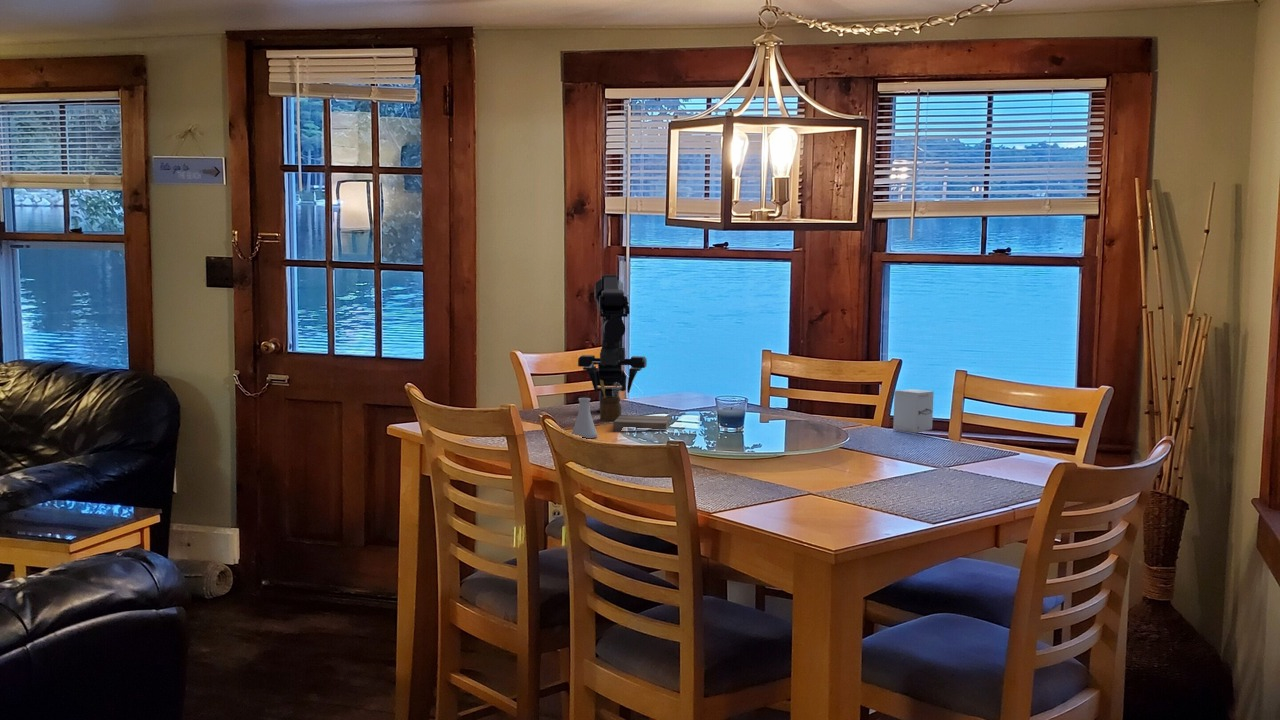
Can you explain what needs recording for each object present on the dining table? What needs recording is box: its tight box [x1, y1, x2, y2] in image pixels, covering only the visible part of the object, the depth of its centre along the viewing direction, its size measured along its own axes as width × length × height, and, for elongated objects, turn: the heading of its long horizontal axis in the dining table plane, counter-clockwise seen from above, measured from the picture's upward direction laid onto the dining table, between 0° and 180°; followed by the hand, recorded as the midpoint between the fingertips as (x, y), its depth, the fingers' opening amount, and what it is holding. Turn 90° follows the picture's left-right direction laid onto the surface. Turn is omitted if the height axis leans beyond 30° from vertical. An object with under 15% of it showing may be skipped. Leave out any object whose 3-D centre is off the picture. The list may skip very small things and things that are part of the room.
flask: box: [571, 397, 598, 439], centre depth 293 cm, size 7×7×10 cm
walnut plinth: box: [612, 414, 672, 432], centre depth 310 cm, size 14×14×2 cm
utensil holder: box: [599, 380, 622, 422], centre depth 321 cm, size 6×6×12 cm
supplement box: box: [892, 388, 934, 434], centre depth 296 cm, size 7×7×13 cm
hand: (612, 392), depth 321 cm, fingers open, 9 cm apart
